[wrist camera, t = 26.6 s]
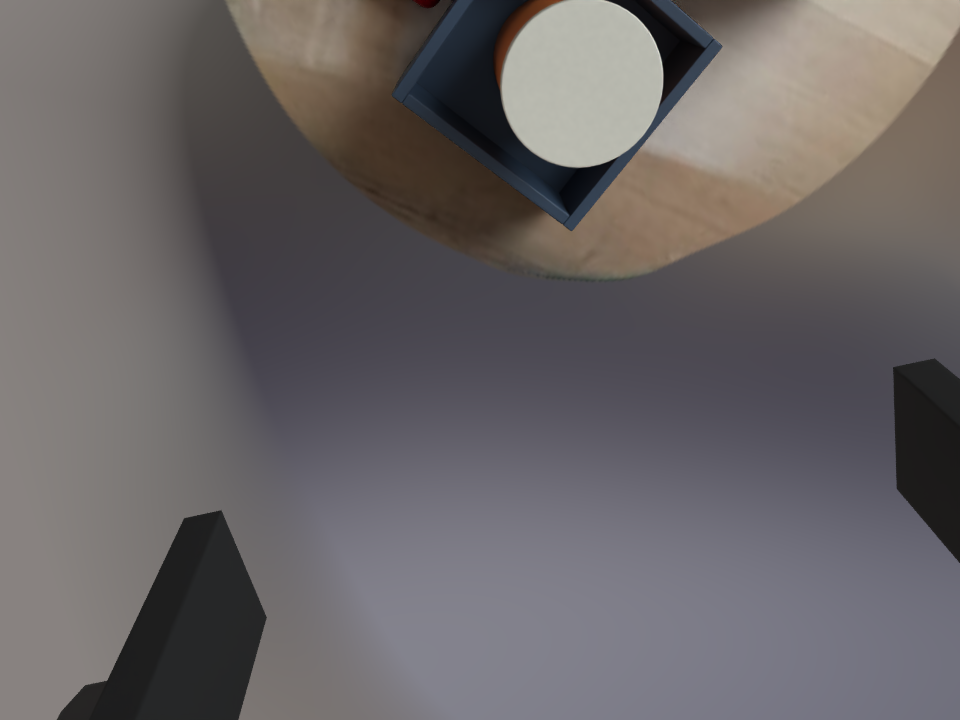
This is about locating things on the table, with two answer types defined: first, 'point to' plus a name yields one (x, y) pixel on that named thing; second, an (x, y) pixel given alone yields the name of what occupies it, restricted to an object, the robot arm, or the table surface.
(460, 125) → the open box
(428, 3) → the engagement ring
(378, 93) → the table surface
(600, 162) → the container
